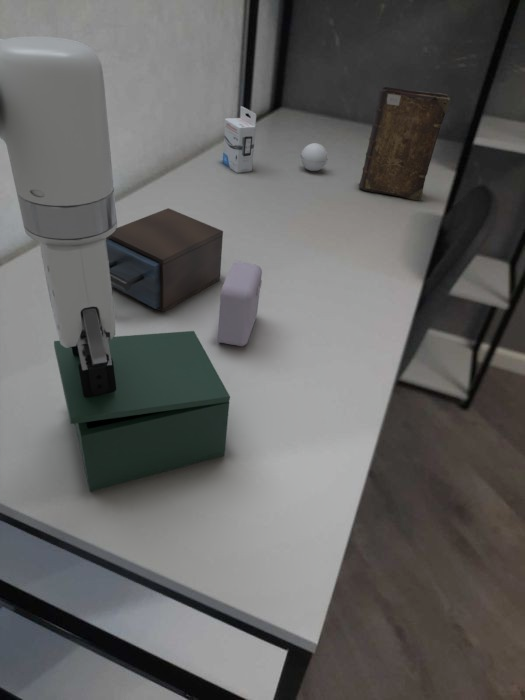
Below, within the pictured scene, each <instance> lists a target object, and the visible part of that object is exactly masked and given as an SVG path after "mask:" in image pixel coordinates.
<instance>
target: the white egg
mask: <svg viewBox="0 0 525 700" xmlns="http://www.w3.org/2000/svg"><path fill="white" fill-rule="evenodd" d="M300 160H301V164H302V165H303V167H304V168H305V169H306V170H308V171H310V172H318V171H320V170H322V169H323V168H324V167H325V165H326V164H327V161H328V153H327V149H326V148H325V146H324V145H322V144H320V143H317V142H313V143H310V144H307V145H306V146H305V147H304V148H303V149H302V151H301V154H300Z"/></svg>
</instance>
